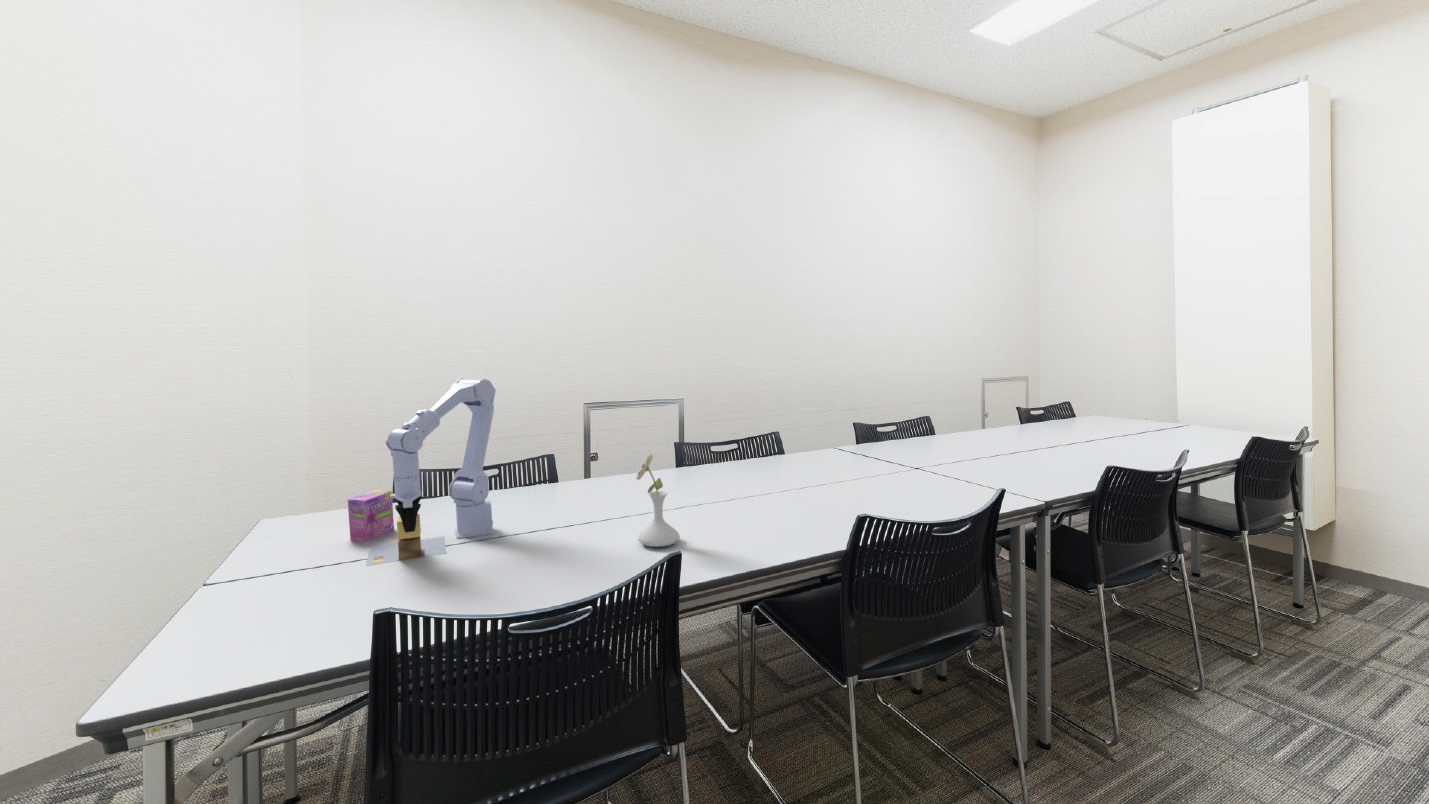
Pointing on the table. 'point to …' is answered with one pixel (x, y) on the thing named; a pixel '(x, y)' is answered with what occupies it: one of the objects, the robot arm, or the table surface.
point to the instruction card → (392, 553)
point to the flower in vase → (656, 516)
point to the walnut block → (409, 548)
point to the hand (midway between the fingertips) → (410, 528)
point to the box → (370, 515)
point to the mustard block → (404, 535)
